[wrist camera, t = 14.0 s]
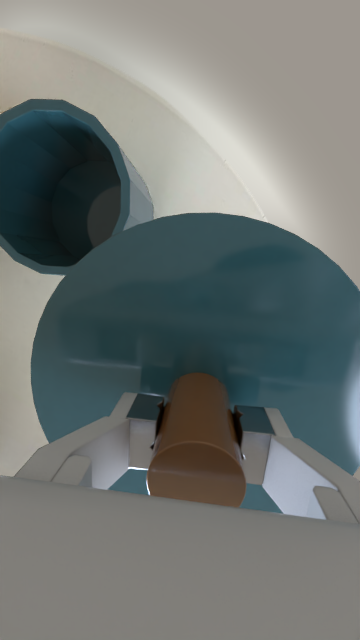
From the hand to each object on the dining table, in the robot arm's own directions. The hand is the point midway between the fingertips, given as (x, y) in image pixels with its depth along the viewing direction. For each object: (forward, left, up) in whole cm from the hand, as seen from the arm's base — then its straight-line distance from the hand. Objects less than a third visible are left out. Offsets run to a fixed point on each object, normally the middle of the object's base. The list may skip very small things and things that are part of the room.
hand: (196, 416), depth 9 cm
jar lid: (0, 0, -2) cm, 2 cm away
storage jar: (+13, -10, -24) cm, 30 cm away
